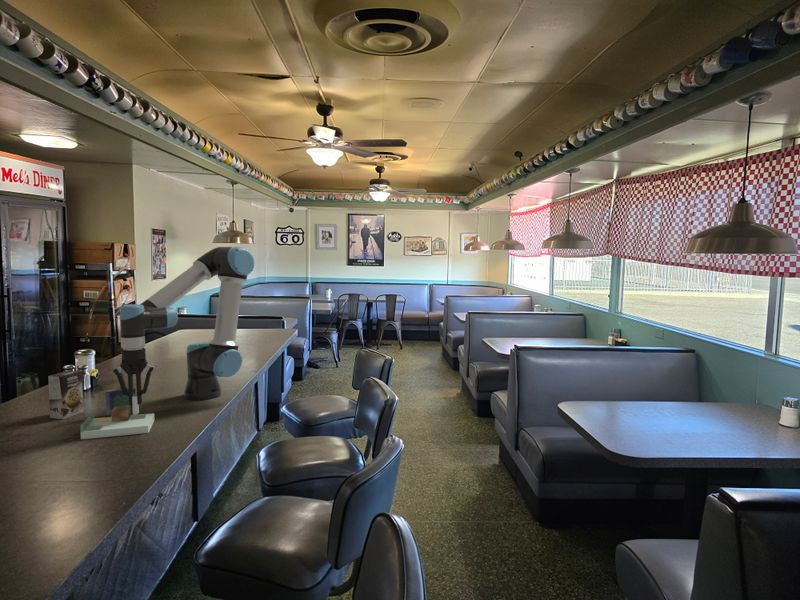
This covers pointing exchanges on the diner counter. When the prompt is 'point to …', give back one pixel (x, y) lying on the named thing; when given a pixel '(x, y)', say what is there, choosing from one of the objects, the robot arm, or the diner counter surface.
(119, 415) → the walnut block
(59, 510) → the diner counter surface
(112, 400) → the flask
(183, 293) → the robot arm
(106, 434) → the board
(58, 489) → the diner counter surface
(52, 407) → the coffee box
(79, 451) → the diner counter surface
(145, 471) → the diner counter surface
